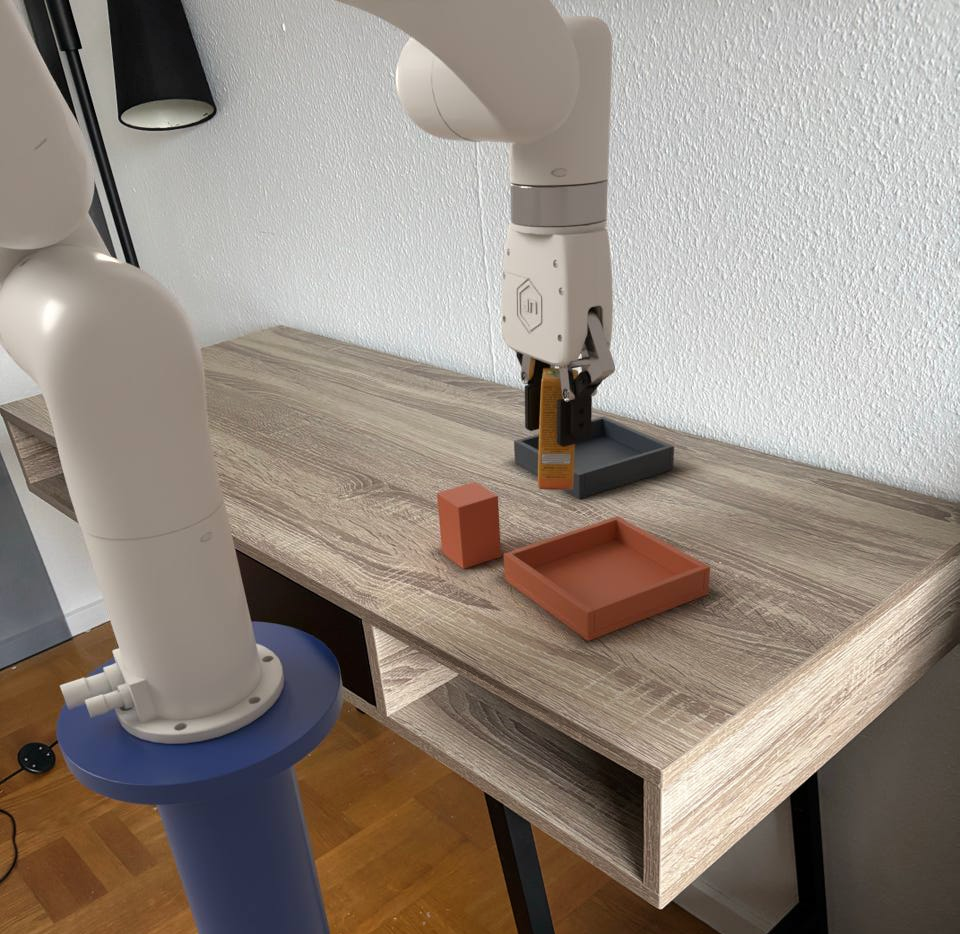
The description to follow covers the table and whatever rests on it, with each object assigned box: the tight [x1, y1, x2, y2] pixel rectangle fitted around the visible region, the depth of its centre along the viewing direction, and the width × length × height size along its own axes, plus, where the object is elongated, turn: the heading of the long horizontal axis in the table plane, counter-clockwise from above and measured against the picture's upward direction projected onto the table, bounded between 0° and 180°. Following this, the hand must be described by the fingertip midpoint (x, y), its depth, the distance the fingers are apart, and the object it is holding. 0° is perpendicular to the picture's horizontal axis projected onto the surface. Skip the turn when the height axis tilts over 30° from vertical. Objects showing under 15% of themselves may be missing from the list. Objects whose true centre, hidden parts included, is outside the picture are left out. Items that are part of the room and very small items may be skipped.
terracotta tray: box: [503, 515, 711, 642], centre depth 79 cm, size 12×12×3 cm
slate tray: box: [513, 416, 675, 500], centre depth 101 cm, size 12×12×3 cm
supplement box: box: [537, 367, 579, 491], centre depth 82 cm, size 3×4×10 cm
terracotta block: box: [436, 481, 502, 570], centre depth 85 cm, size 4×4×6 cm
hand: (557, 432), depth 83 cm, fingers closed on supplement box, 4 cm apart
